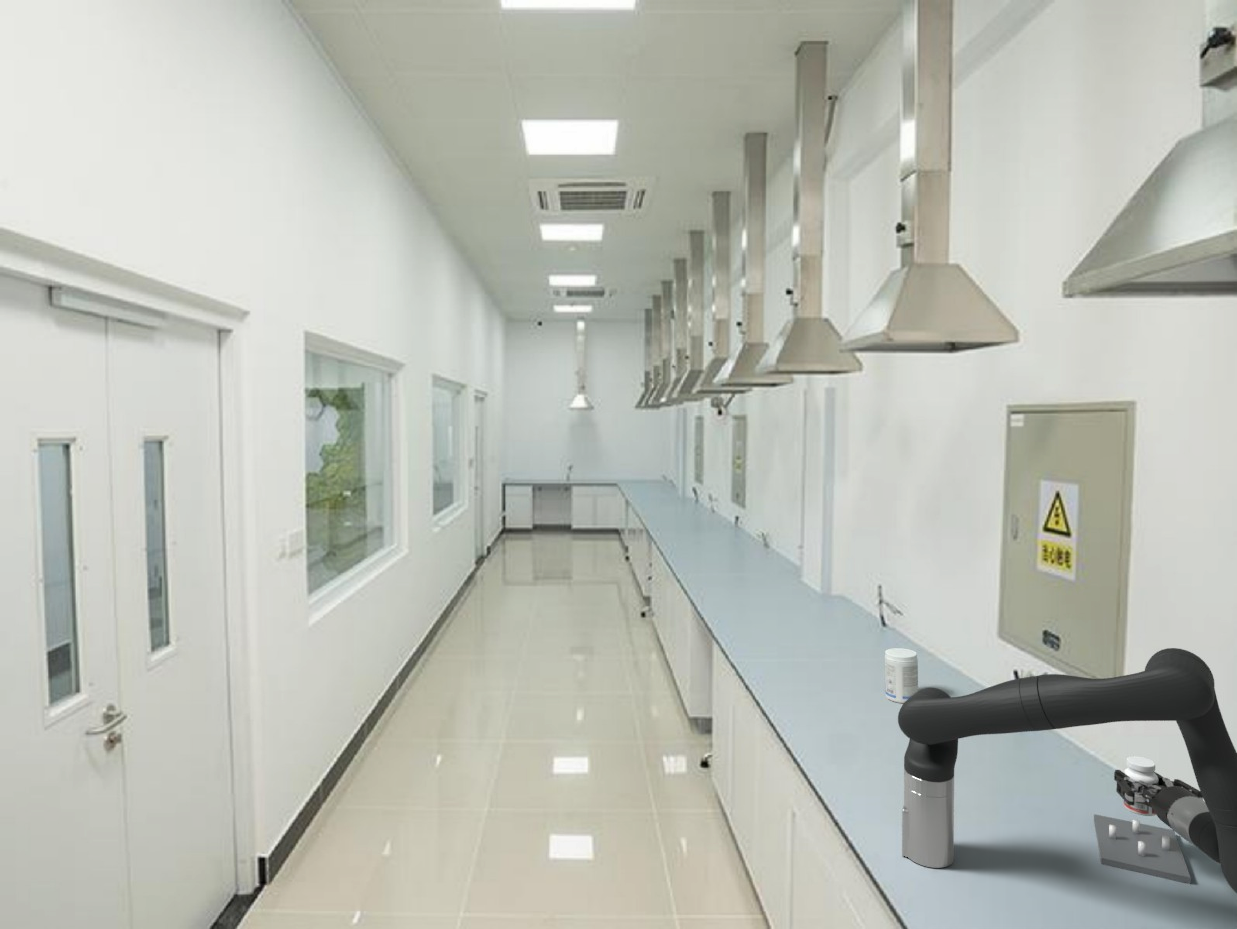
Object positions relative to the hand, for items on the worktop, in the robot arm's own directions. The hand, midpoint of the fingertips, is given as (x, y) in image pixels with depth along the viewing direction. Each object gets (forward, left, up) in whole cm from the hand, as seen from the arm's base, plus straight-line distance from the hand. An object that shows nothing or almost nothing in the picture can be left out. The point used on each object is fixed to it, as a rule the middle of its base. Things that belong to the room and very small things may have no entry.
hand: (1133, 774), depth 151 cm
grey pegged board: (+1, -2, -14) cm, 15 cm away
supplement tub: (-53, +62, -15) cm, 83 cm away
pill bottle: (+1, -2, -6) cm, 7 cm away
